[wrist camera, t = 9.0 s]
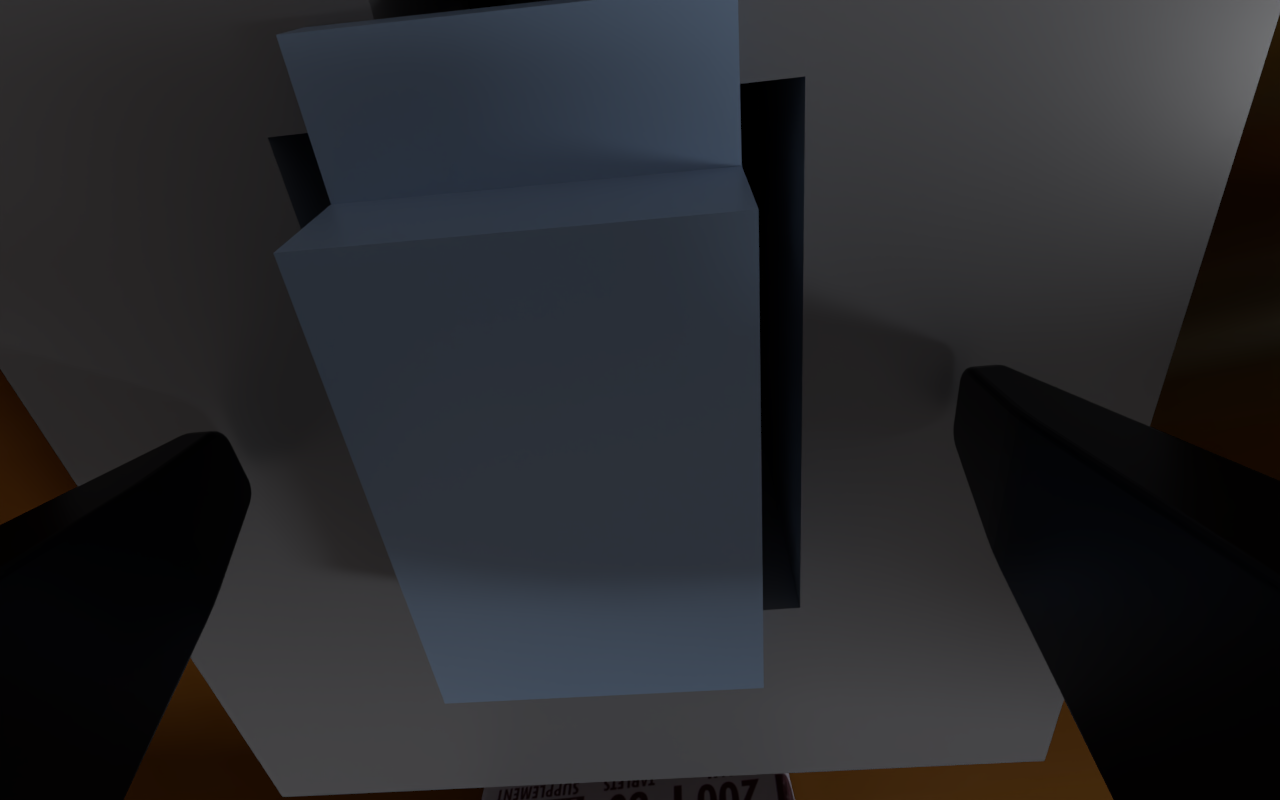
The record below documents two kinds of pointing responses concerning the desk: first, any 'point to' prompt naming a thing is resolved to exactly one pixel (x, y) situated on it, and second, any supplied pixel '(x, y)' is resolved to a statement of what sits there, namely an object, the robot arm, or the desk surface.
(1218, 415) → the desk surface
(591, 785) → the supplement box
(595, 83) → the block
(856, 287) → the chassis
